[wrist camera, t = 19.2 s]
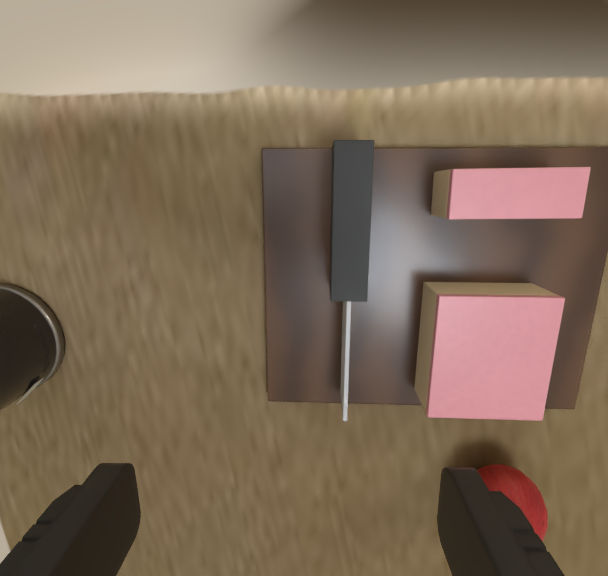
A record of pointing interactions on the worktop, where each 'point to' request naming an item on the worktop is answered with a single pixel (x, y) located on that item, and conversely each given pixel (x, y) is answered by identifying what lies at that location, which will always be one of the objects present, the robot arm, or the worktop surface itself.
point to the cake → (486, 349)
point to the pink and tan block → (510, 193)
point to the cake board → (415, 268)
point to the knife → (350, 236)
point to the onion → (518, 493)
